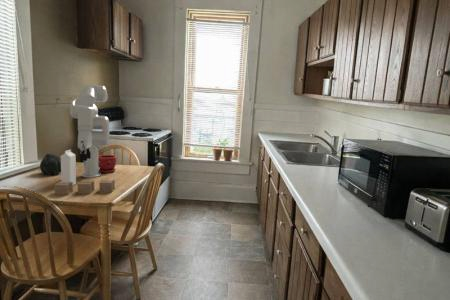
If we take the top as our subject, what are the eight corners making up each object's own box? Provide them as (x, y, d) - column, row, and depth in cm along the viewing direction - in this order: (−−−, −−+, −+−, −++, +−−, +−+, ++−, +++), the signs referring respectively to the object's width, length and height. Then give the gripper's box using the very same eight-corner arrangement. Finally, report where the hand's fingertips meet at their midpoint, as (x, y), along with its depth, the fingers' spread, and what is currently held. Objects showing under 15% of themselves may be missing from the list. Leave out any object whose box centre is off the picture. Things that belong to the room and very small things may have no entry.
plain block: (82, 190, 182) (82, 180, 181) (94, 190, 182) (94, 180, 181) (77, 193, 175) (77, 183, 174) (90, 194, 175) (90, 184, 174)
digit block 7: (102, 188, 186) (102, 179, 185) (114, 189, 187) (114, 179, 186) (99, 192, 179) (99, 182, 178) (111, 192, 180) (111, 182, 179)
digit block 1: (60, 191, 177) (60, 181, 176) (72, 191, 178) (72, 181, 177) (54, 195, 170) (54, 184, 169) (68, 195, 171) (67, 184, 170)
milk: (61, 185, 187) (60, 150, 184) (67, 183, 193) (66, 149, 190) (70, 186, 187) (69, 151, 183) (76, 183, 193) (75, 149, 189)
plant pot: (119, 170, 233) (119, 155, 231) (109, 174, 220) (109, 158, 218) (104, 169, 236) (104, 153, 234) (93, 172, 223) (93, 156, 221)
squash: (72, 165, 219) (58, 148, 218) (58, 170, 204) (43, 153, 203) (58, 176, 222) (45, 160, 220) (44, 182, 207) (30, 165, 206)
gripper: (83, 126, 181) (84, 156, 183) (72, 129, 164) (73, 162, 167) (96, 127, 181) (97, 157, 184) (86, 130, 164) (87, 162, 167)
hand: (85, 159), depth 175 cm, fingers open, 5 cm apart
